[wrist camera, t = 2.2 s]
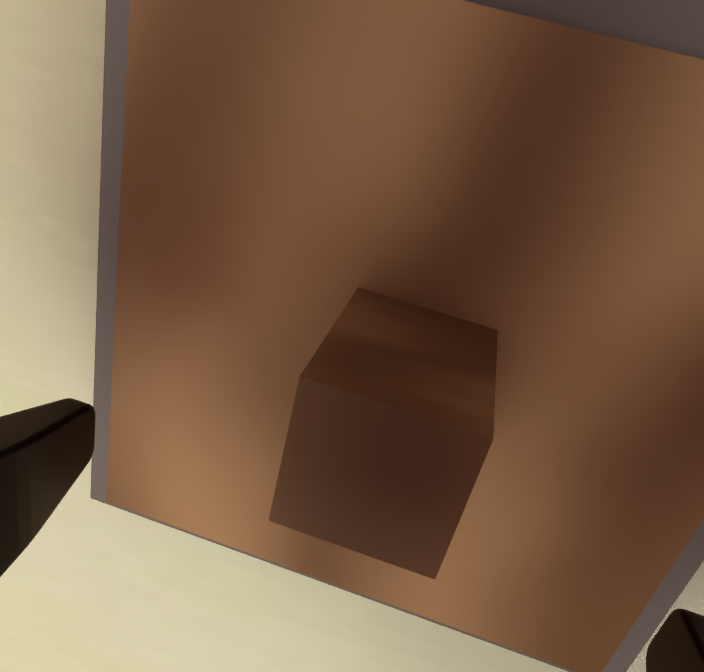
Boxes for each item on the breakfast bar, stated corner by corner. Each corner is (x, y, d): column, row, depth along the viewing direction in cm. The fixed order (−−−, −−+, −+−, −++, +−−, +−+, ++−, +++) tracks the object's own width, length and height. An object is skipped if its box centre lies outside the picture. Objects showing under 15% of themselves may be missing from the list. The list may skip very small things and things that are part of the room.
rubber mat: (1016, 69, 10) (1044, 69, 9) (611, 668, 17) (614, 687, 17) (129, -140, 12) (110, -149, 11) (102, 485, 19) (90, 497, 18)
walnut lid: (934, 119, 10) (1251, 166, 6) (593, 652, 16) (622, 861, 12) (156, -73, 11) (-51, -148, 7) (122, 483, 18) (0, 616, 14)
